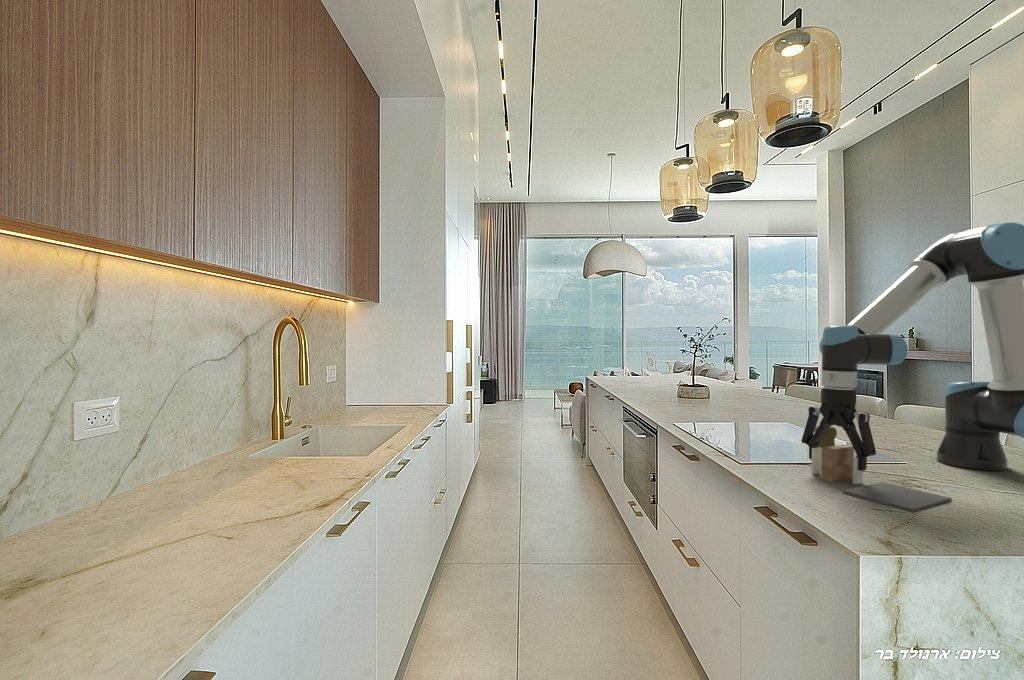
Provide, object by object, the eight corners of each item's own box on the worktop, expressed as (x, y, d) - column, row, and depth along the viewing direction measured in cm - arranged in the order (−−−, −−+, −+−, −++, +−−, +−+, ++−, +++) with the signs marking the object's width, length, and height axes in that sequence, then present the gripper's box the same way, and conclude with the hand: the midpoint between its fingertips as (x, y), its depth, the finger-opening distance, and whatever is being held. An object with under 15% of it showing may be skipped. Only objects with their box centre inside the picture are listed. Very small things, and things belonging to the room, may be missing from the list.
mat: (882, 484, 131) (882, 481, 131) (951, 500, 118) (951, 498, 118) (843, 493, 123) (843, 490, 123) (912, 511, 111) (913, 508, 111)
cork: (813, 467, 146) (814, 426, 146) (810, 462, 152) (811, 423, 152) (839, 470, 144) (840, 428, 144) (835, 464, 150) (836, 424, 150)
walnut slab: (840, 475, 139) (841, 444, 139) (853, 478, 136) (853, 446, 136) (819, 479, 135) (820, 447, 134) (831, 482, 132) (832, 449, 132)
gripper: (787, 384, 143) (785, 469, 143) (878, 393, 123) (875, 491, 124) (805, 383, 146) (802, 466, 147) (896, 392, 127) (893, 487, 127)
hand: (835, 477), depth 135 cm, fingers open, 10 cm apart
